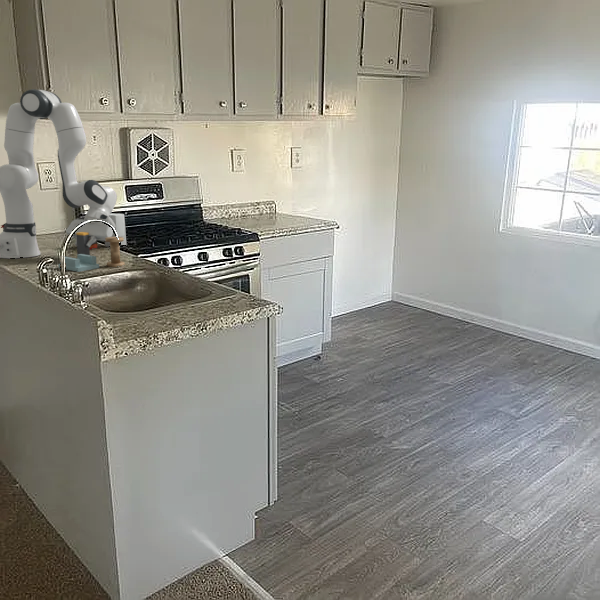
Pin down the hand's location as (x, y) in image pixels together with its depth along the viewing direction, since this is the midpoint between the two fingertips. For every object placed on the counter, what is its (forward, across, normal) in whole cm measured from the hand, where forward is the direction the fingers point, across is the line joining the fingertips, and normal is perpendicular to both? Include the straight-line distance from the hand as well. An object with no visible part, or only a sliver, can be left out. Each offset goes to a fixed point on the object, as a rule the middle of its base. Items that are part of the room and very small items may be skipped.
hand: (82, 245), depth 256 cm
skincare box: (-24, -11, +33) cm, 42 cm away
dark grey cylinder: (+3, 0, +4) cm, 5 cm away
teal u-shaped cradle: (+13, +7, -4) cm, 15 cm away
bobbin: (+6, +17, +3) cm, 19 cm away
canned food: (-16, -19, +26) cm, 36 cm away
